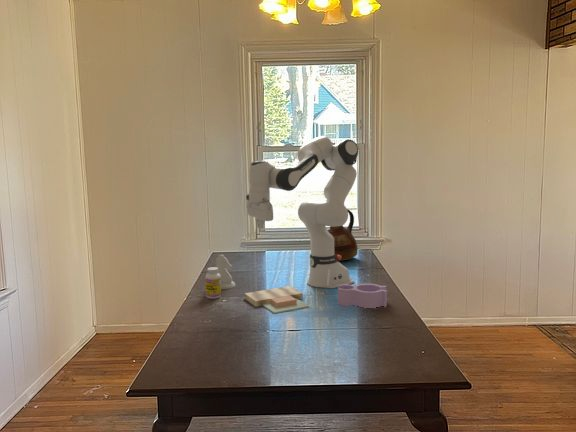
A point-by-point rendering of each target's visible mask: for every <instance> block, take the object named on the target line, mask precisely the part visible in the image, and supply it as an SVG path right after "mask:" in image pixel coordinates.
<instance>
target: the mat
mask: <svg viewBox="0 0 576 432" xmlns="http://www.w3.org/2000/svg"><path fill="white" fill-rule="evenodd" d="M295 299H296V300H297V304H295V305H289V306H284V307H278V308H277V307H275V306H274V305H272V304H271V303H267V304H263V306H262V307H264V308H265V309H267V310H268V311H269V312H271V313H272V314H280V313H286V312H290V311H297V310H302V309H307V308H310V305H309V304H307V303H306V302H304V301H302V300H301V299H297V298H295Z"/></svg>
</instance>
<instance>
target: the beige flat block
mask: <svg viewBox="0 0 576 432" xmlns="http://www.w3.org/2000/svg"><path fill="white" fill-rule="evenodd" d="M303 295H304V294H303V292H301V291H299V290H298V289H296V288H294V287H293V286H290V285H287V286H283V287H282V286H281V287H277V288H276V287H275V288H269V289H263V290H258V291H257V290H256V291H251V292H244V300H246V301H247V302H249V304H251V305H253V306H254V307H255V308H257V307H264V306H263V304H267V303H271V299H272V298H278V297H284V296H292V297H293V298H297V299H299V300H301V299H303Z"/></svg>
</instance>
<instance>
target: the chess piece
mask: <svg viewBox="0 0 576 432" xmlns="http://www.w3.org/2000/svg"><path fill="white" fill-rule="evenodd" d="M215 267H217V268H218V273H219V274H220V275H221V290H229V289H234V288H235V287H236V283H235V281H233V276H232V275H231V274H230V273H229V272H232V270H233V265H232V264H230V262H229V260H228V258H227V257H225V255H224V254H219V255H218V256H217V257H216V259H215Z"/></svg>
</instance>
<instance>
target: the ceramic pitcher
mask: <svg viewBox="0 0 576 432" xmlns="http://www.w3.org/2000/svg"><path fill="white" fill-rule="evenodd" d="M347 211H348V216H349V223H348V225H347V227H344V225H343V226H336V227H331V226H329V229H327V231H328V232H329V233H330V234H331V235H332V236H333V238H334V254H336V255H341V256H342V257H341V259H340V260H339V259H337V261H338V262H340V261H345V260H346V261H348V260H350V259H353V258H354V257H356V256H357V255H358V244H357V241H356V238H355V237H354V235H353V233H352V231H353V227H354V224H355V216H354V214H353V212H352V211H351V210H350V209H348V208H347Z"/></svg>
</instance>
